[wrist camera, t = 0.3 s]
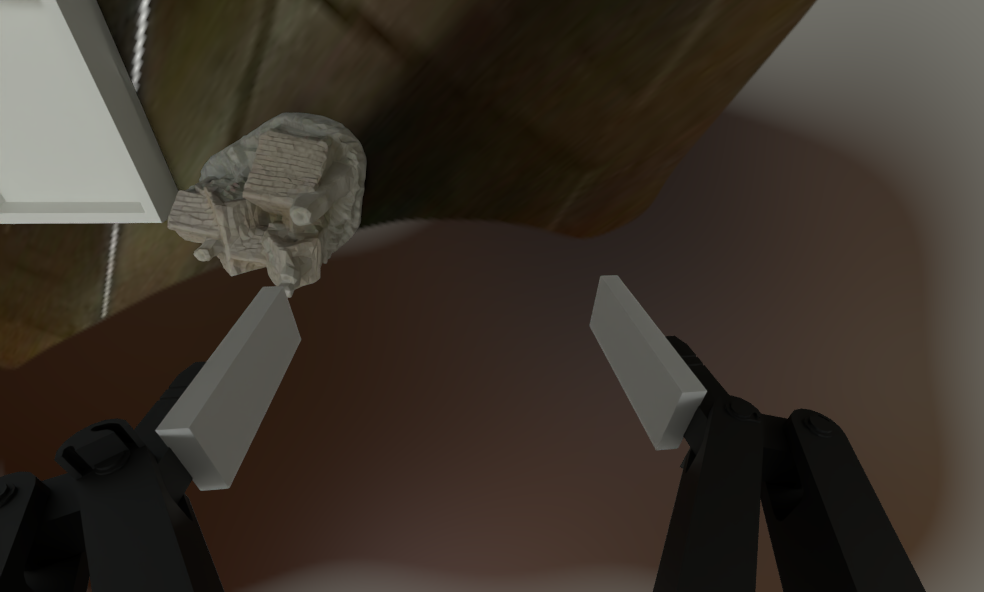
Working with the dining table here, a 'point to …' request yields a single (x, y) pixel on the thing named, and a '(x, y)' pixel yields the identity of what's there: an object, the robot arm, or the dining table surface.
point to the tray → (73, 122)
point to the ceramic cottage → (277, 199)
